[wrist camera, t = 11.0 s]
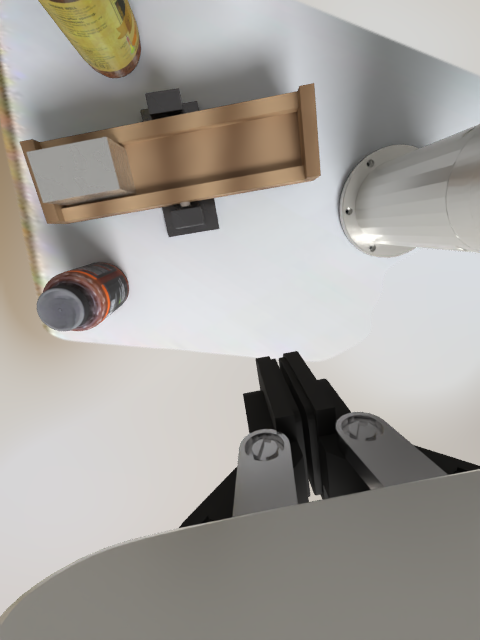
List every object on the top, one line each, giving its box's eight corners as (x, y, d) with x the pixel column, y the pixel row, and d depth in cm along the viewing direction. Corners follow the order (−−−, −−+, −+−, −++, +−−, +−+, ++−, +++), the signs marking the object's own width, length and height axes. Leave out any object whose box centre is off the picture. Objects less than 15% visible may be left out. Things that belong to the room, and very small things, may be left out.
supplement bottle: (72, 268, 36) (10, 284, 25) (120, 256, 36) (79, 267, 25) (91, 314, 38) (41, 348, 27) (137, 303, 38) (105, 332, 27)
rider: (125, 148, 28) (106, 136, 24) (136, 193, 29) (119, 189, 25) (55, 161, 29) (26, 152, 25) (69, 205, 30) (43, 202, 26)
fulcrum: (293, 88, 32) (309, 59, 27) (304, 214, 36) (320, 211, 30) (48, 126, 31) (12, 104, 26) (86, 250, 35) (62, 254, 30)
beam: (301, 104, 30) (313, 77, 24) (308, 187, 32) (321, 180, 27) (56, 151, 32) (18, 136, 26) (80, 227, 34) (48, 227, 29)
